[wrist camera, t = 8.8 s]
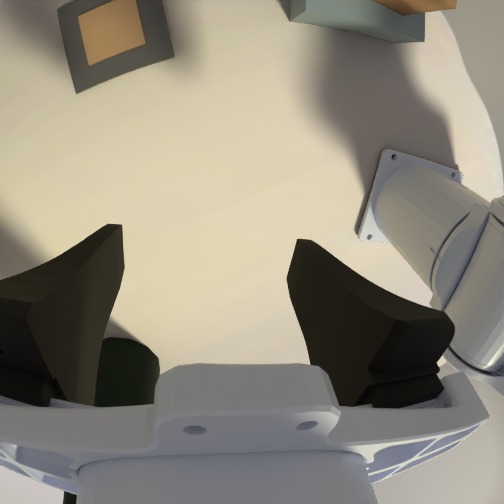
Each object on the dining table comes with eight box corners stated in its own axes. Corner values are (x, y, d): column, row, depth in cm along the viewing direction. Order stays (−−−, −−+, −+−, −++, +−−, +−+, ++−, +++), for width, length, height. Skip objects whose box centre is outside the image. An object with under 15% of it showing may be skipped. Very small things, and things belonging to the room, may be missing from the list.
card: (154, -30, 12) (152, -32, 12) (174, 57, 16) (173, 56, 16) (58, 10, 12) (56, 9, 12) (77, 93, 16) (75, 94, 16)
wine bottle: (99, 312, 26) (60, 641, 1) (175, 365, 31) (189, 641, 6) (63, 344, 28) (21, 605, 3) (132, 388, 33) (128, 622, 7)
